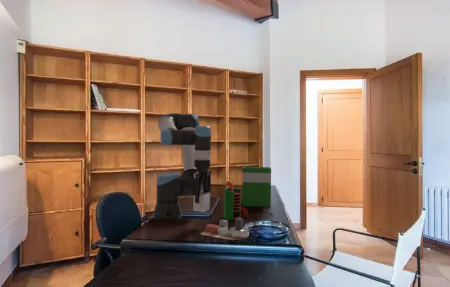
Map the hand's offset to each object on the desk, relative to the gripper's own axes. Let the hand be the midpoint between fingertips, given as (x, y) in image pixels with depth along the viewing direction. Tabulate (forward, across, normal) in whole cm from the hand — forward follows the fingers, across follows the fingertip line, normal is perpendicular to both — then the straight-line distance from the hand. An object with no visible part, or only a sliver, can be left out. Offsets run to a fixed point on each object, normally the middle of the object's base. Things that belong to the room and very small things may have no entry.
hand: (201, 208), depth 139 cm
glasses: (+11, +37, -12) cm, 41 cm away
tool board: (+9, -4, -18) cm, 20 cm away
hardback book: (+11, +58, -6) cm, 60 cm away
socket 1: (+1, 0, 0) cm, 1 cm away
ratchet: (+8, -5, -16) cm, 18 cm away
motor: (+10, +20, -7) cm, 24 cm away
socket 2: (+8, 0, -12) cm, 14 cm away
